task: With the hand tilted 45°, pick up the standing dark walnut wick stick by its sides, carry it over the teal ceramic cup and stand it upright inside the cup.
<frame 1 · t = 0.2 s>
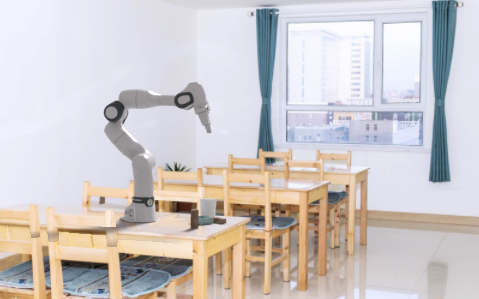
hand: (209, 133, 340), 51 cm above the table, tool tilted 20°, fingers open, 8 cm apart
wick stick: (194, 228, 324), on the table
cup: (202, 223, 340), on the table
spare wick: (218, 223, 344), on the table
white tapered container: (207, 219, 356), on the table
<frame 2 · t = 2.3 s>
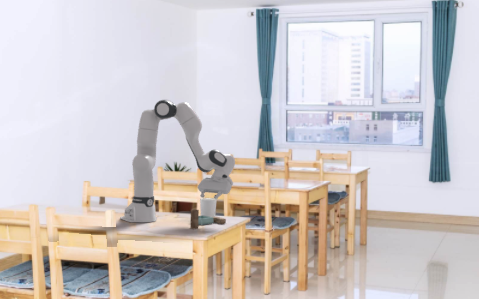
hand: (208, 197, 334), 15 cm above the table, tool tilted 45°, fingers open, 8 cm apart
nothing on the table moved.
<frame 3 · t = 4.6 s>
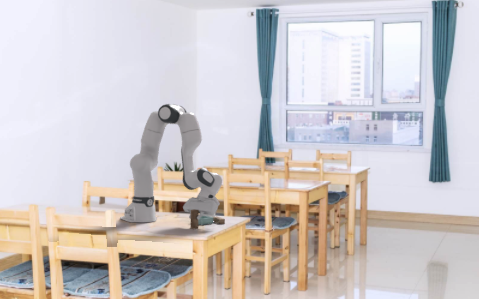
hand: (193, 218, 323), 5 cm above the table, tool tilted 45°, fingers closed on wick stick, 3 cm apart
wick stick: (194, 228, 324), on the table, touching gripper
everything else where it was.
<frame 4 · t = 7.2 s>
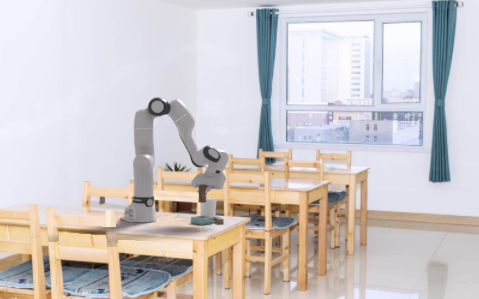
hand: (201, 192, 338), 18 cm above the table, tool tilted 45°, fingers closed on wick stick, 3 cm apart
wick stick: (202, 202, 339), point 12 cm above the table, touching gripper
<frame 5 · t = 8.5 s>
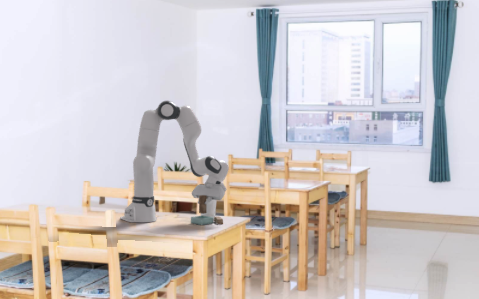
hand: (202, 203, 339), 11 cm above the table, tool tilted 45°, fingers closed on wick stick, 3 cm apart
wick stick: (202, 213, 340), point 6 cm above the table, touching gripper
when the fingers open (8 cm above the table, at t = 9.4 s): wick stick drops 2 cm, resting on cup.
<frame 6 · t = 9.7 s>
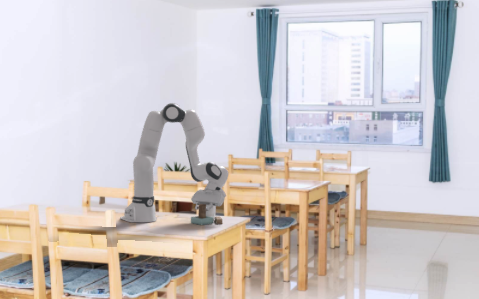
hand: (201, 209, 340), 8 cm above the table, tool tilted 45°, fingers open, 6 cm apart
wick stick: (202, 221, 340), point 1 cm above the table, touching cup
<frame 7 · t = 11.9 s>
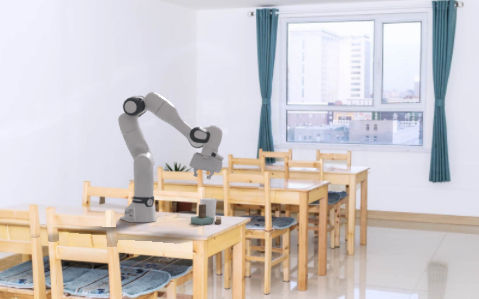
hand: (201, 177, 334), 26 cm above the table, tool tilted 20°, fingers open, 8 cm apart
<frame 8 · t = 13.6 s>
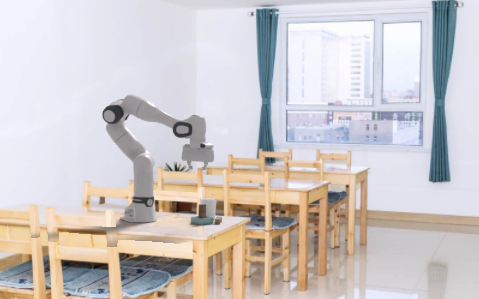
hand: (197, 169, 331), 31 cm above the table, tool pointing down, fingers open, 8 cm apart
at the end: wick stick inside the target area on the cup (0.1 cm from its centre), point 0.8 cm above the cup's base; wick stick tilted 0°; the gripper is holding nothing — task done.
